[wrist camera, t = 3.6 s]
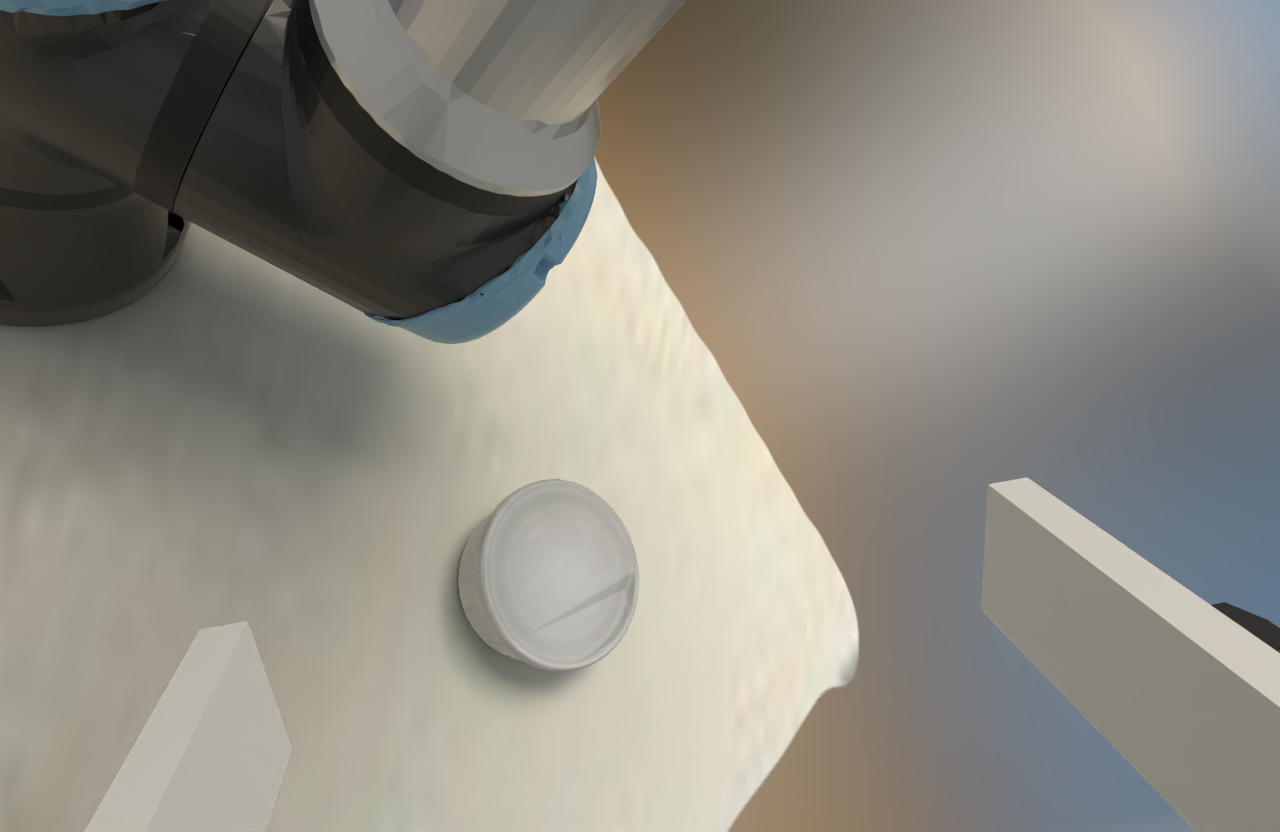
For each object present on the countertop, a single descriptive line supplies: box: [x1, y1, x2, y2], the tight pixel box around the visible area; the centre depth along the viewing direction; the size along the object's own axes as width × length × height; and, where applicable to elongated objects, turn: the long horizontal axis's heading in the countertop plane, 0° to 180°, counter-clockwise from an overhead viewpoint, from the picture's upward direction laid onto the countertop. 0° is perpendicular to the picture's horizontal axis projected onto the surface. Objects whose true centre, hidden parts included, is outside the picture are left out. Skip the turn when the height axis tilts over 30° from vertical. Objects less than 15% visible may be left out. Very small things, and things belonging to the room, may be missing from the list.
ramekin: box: [458, 479, 639, 671], centre depth 50 cm, size 11×11×5 cm
